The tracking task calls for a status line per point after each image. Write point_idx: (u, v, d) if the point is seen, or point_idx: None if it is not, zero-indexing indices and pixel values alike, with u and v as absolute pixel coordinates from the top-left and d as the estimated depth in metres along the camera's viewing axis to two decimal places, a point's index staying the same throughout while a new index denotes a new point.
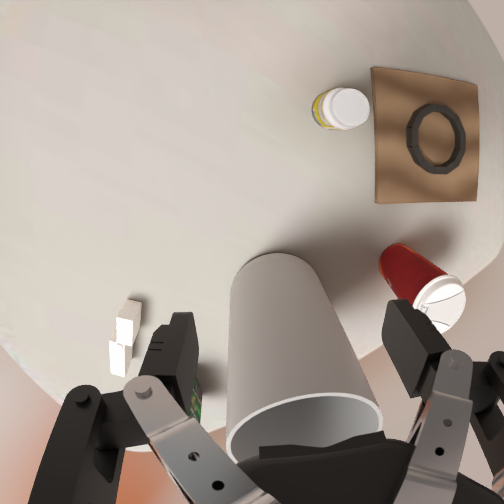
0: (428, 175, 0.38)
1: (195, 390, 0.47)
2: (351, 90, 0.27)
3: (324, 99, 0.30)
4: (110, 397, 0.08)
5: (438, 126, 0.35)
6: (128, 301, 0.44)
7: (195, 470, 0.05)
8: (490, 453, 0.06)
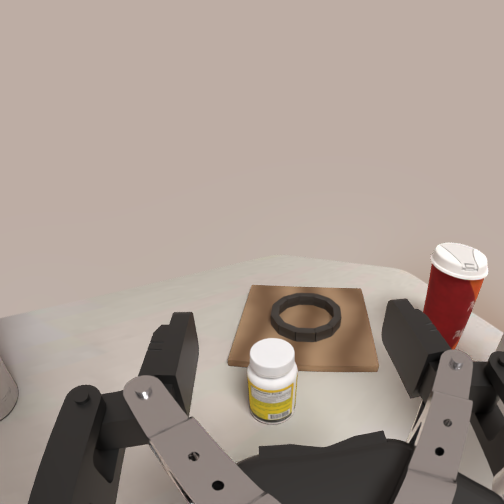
0: (343, 325, 0.42)
1: None
2: (252, 349, 0.28)
3: (258, 386, 0.26)
4: (110, 397, 0.08)
5: (293, 316, 0.44)
6: None
7: (195, 470, 0.05)
8: (489, 453, 0.06)
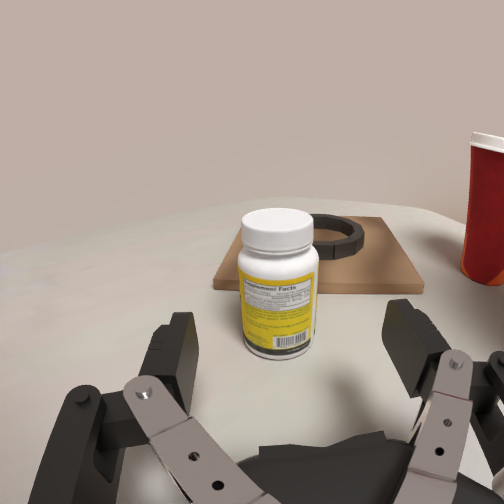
0: (366, 245, 0.32)
1: None
2: (246, 217, 0.18)
3: (256, 275, 0.17)
4: (110, 397, 0.08)
5: None
6: None
7: (195, 470, 0.05)
8: (490, 453, 0.06)
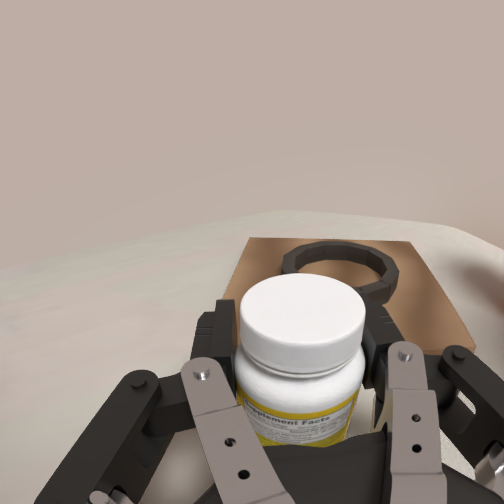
0: (400, 286, 0.24)
1: None
2: (248, 298, 0.10)
3: (265, 402, 0.09)
4: (164, 381, 0.09)
5: (318, 274, 0.27)
6: None
7: (227, 455, 0.06)
8: (462, 446, 0.07)
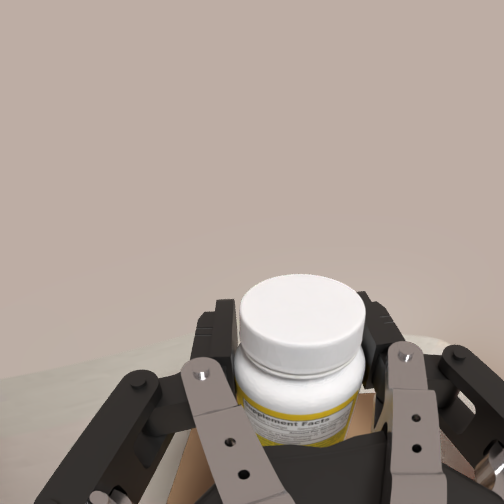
0: None
1: None
2: (248, 299, 0.10)
3: (265, 404, 0.09)
4: (164, 381, 0.09)
5: None
6: None
7: (227, 455, 0.06)
8: (463, 446, 0.07)
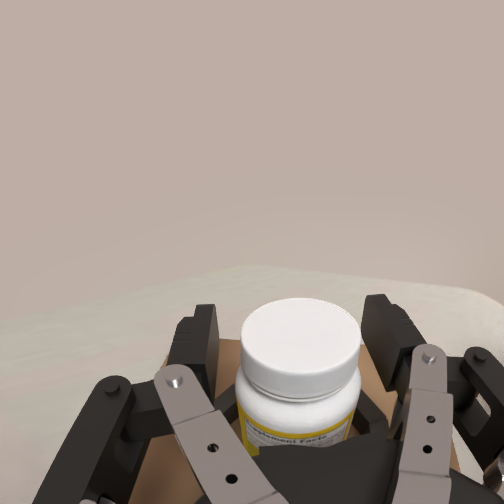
0: None
1: None
2: (248, 325, 0.10)
3: (265, 423, 0.09)
4: (139, 388, 0.09)
5: None
6: None
7: (212, 461, 0.06)
8: (475, 448, 0.07)
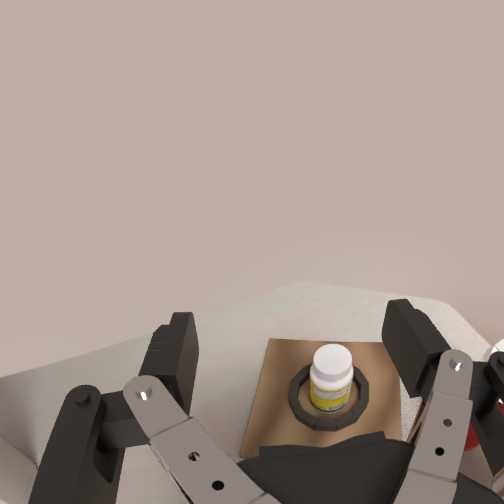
0: (370, 405, 0.33)
1: None
2: (315, 357, 0.31)
3: (321, 387, 0.30)
4: (110, 397, 0.08)
5: None
6: None
7: (195, 470, 0.05)
8: (490, 453, 0.06)
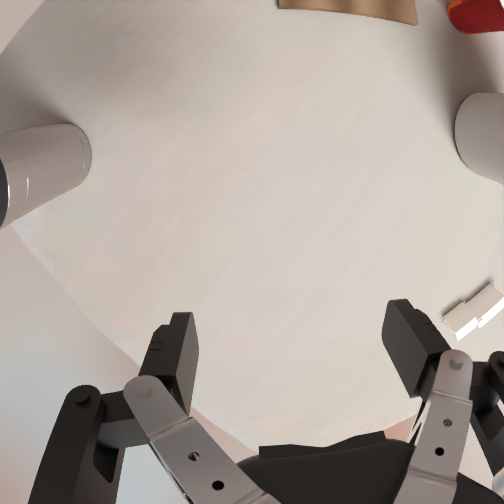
0: None
1: None
2: None
3: None
4: (110, 397, 0.08)
5: None
6: (446, 325, 0.48)
7: (195, 470, 0.05)
8: (490, 453, 0.06)
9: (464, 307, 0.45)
